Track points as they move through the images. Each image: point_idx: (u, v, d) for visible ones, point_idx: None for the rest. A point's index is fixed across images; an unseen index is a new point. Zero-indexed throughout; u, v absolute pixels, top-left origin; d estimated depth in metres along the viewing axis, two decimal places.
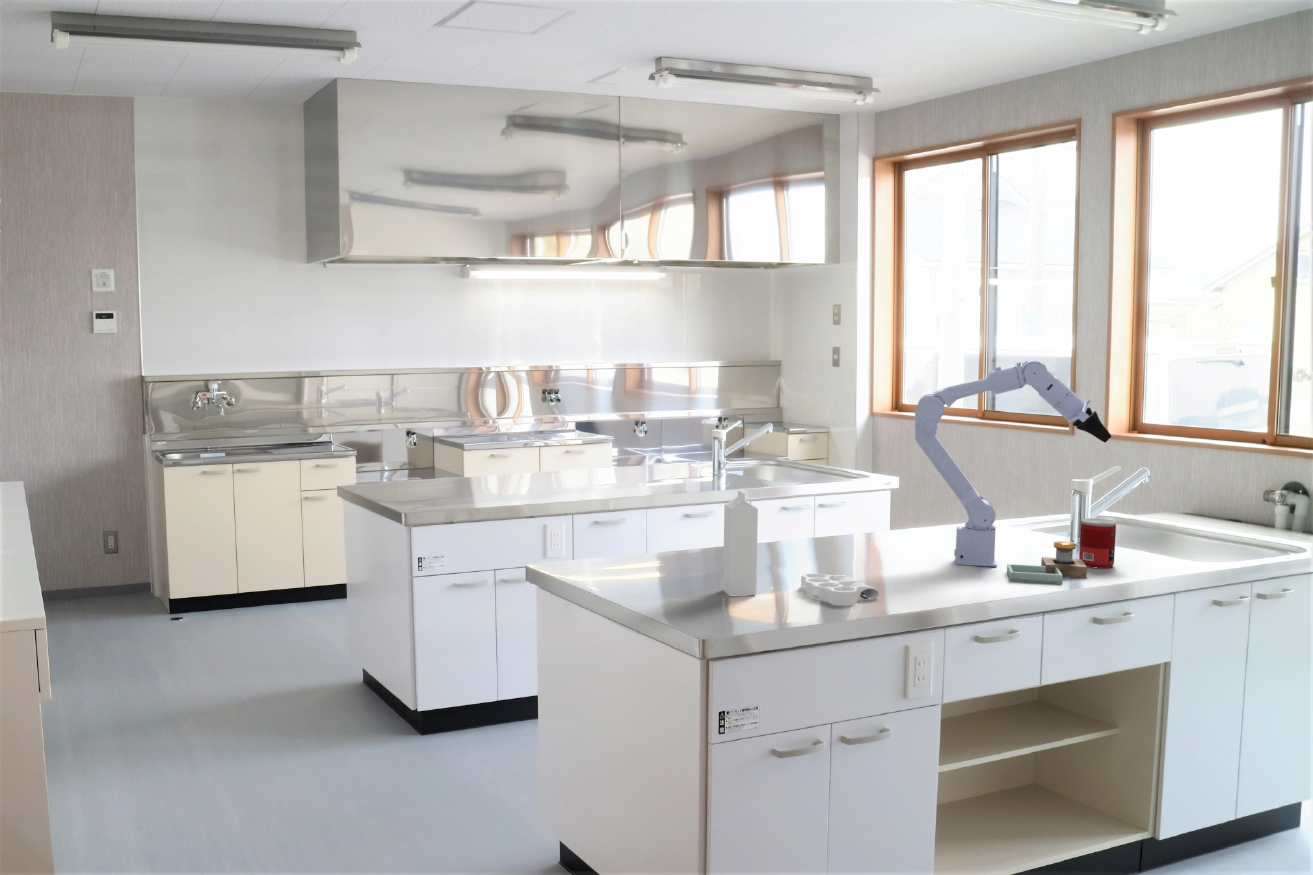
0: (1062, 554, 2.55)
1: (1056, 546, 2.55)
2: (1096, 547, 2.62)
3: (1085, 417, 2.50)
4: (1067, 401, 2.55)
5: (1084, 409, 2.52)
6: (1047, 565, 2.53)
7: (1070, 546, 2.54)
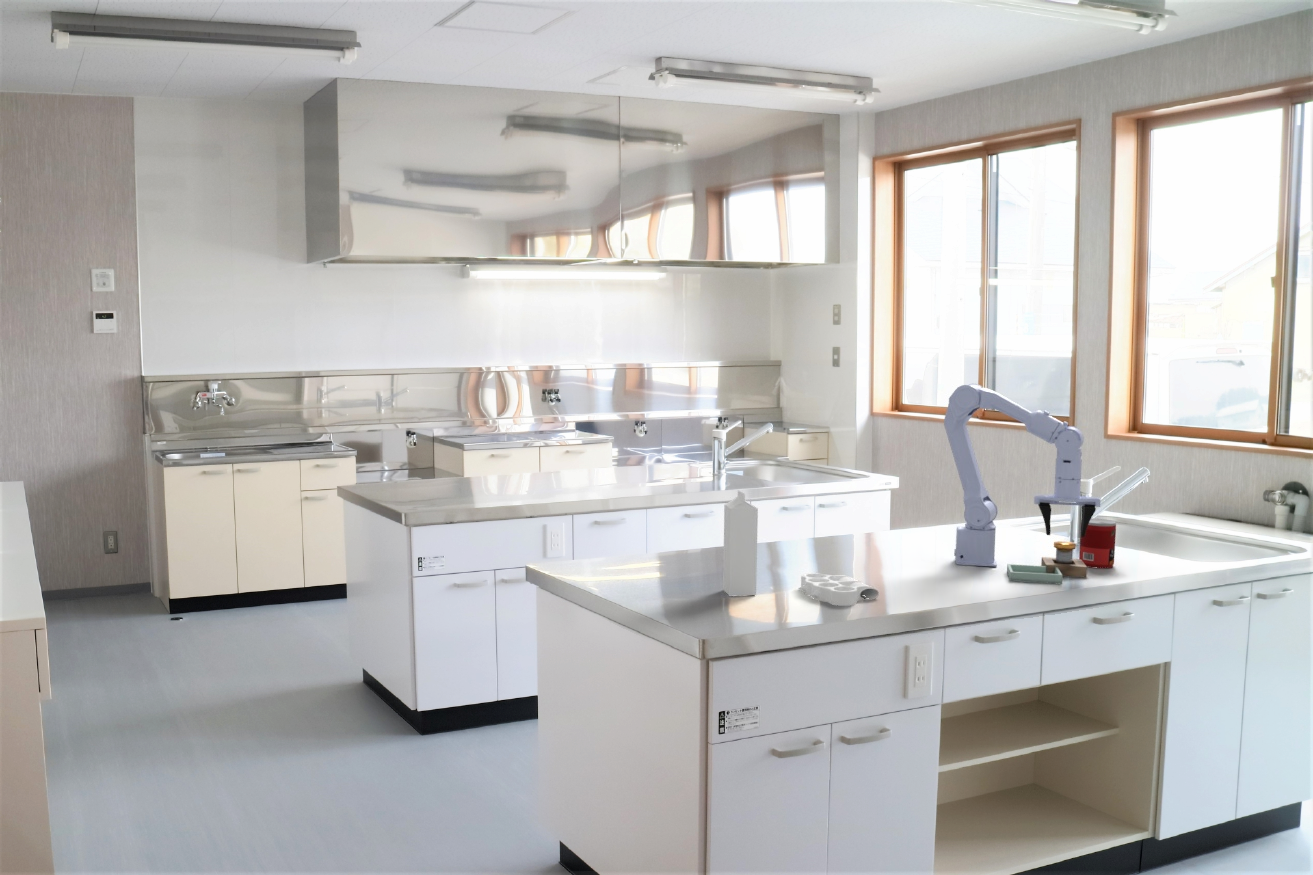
0: (1062, 554, 2.55)
1: (1056, 546, 2.55)
2: (1096, 547, 2.62)
3: (1034, 501, 2.57)
4: (1055, 482, 2.55)
5: (1045, 498, 2.55)
6: (1047, 565, 2.53)
7: (1070, 546, 2.54)
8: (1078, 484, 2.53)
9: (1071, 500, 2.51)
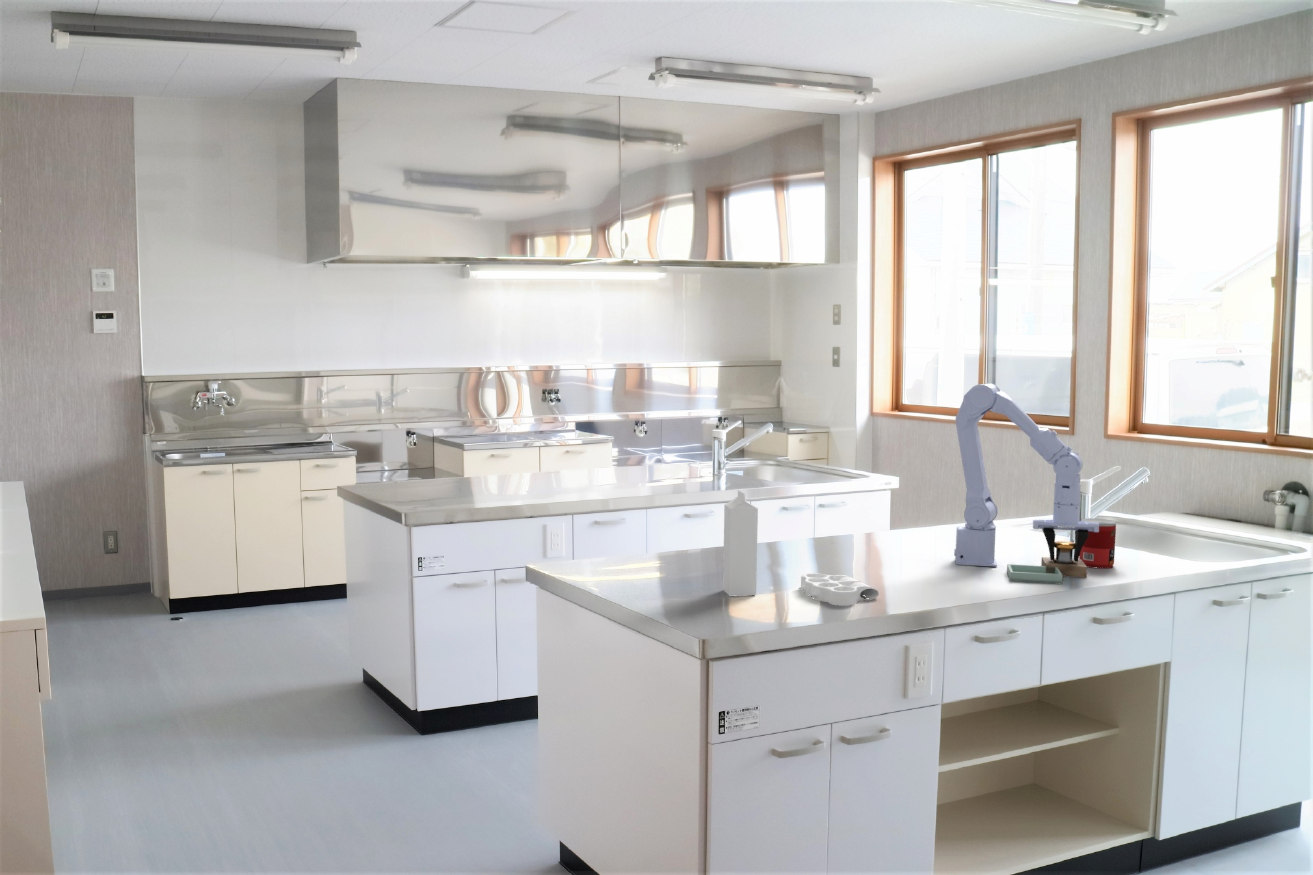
0: (1062, 554, 2.55)
1: (1056, 546, 2.55)
2: (1096, 547, 2.62)
3: (1033, 526, 2.57)
4: (1054, 507, 2.56)
5: (1044, 523, 2.55)
6: (1047, 565, 2.53)
7: (1070, 546, 2.54)
8: (1077, 509, 2.53)
9: (1070, 525, 2.52)
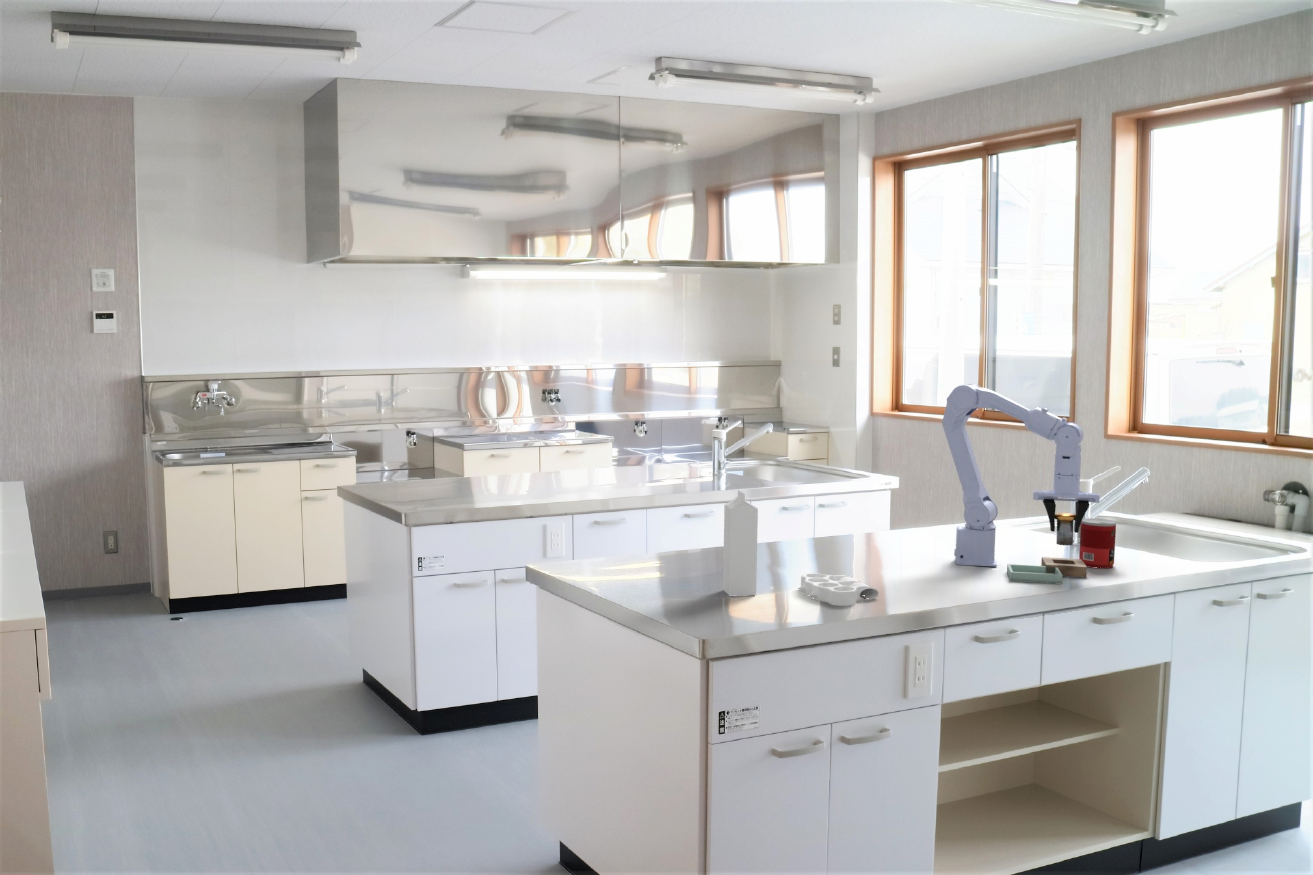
0: (1063, 526, 2.54)
1: (1056, 518, 2.55)
2: (1096, 547, 2.62)
3: (1033, 497, 2.56)
4: (1054, 478, 2.55)
5: (1044, 494, 2.55)
6: (1047, 565, 2.53)
7: (1070, 517, 2.53)
8: (1077, 480, 2.52)
9: (1070, 496, 2.51)
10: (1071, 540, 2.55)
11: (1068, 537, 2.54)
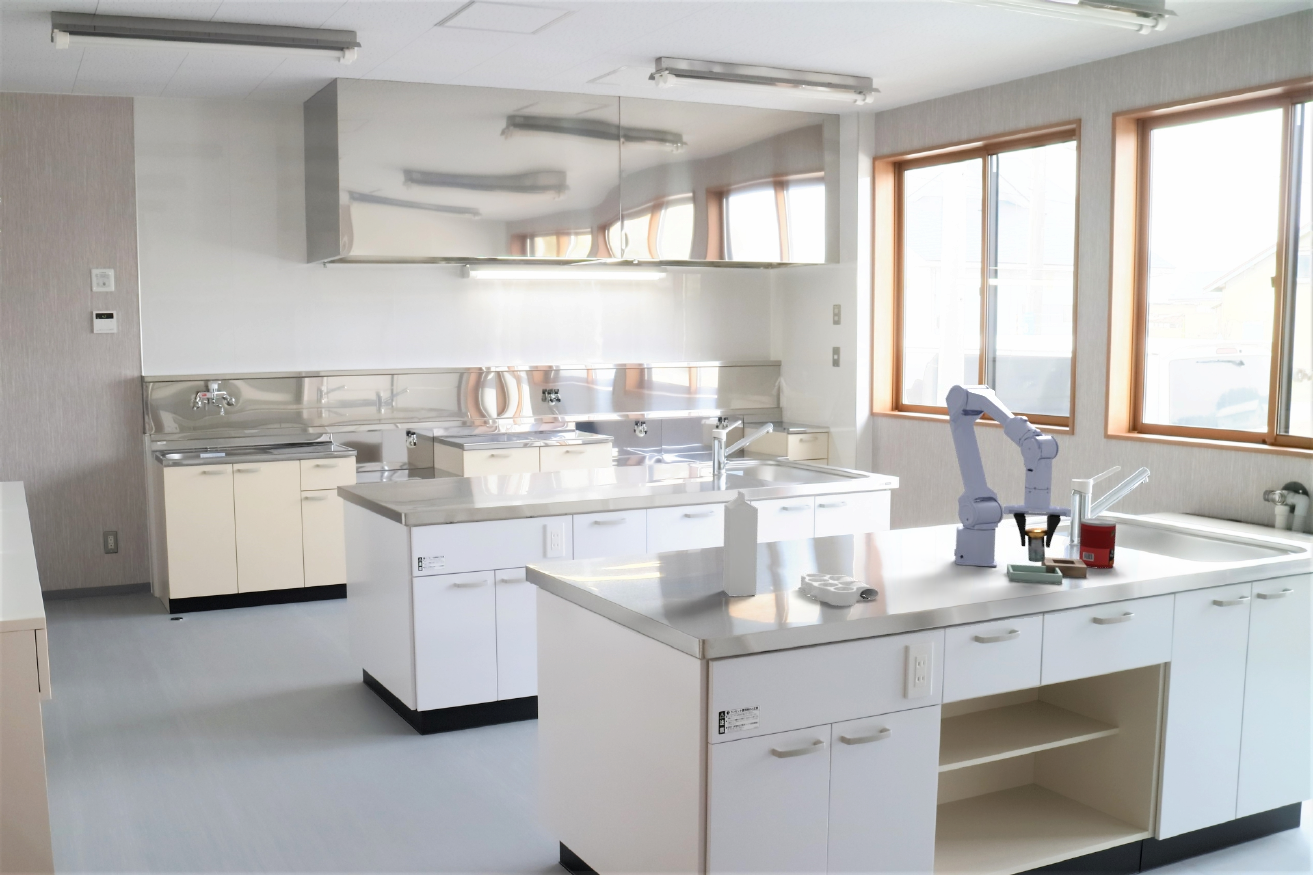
0: (1033, 542, 2.48)
1: (1026, 534, 2.49)
2: (1096, 547, 2.62)
3: (1003, 511, 2.50)
4: (1025, 491, 2.49)
5: (1015, 508, 2.49)
6: (1047, 565, 2.53)
7: (1040, 533, 2.47)
8: (1048, 494, 2.46)
9: (1041, 510, 2.45)
10: (1043, 556, 2.49)
11: (1039, 553, 2.48)
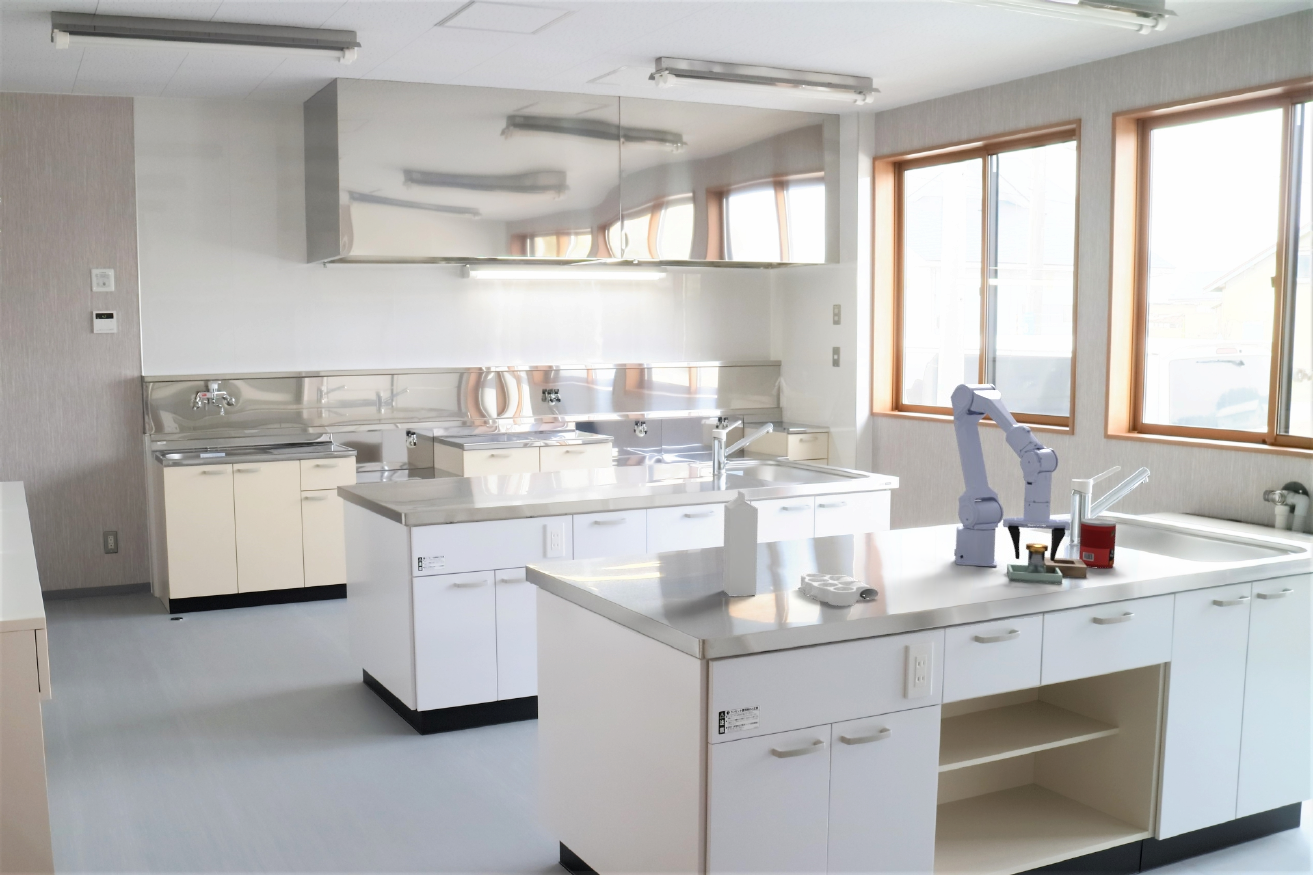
0: (1033, 557, 2.49)
1: (1027, 548, 2.50)
2: (1096, 547, 2.62)
3: (1003, 524, 2.51)
4: (1024, 504, 2.49)
5: (1014, 521, 2.49)
6: (1047, 565, 2.53)
7: (1041, 548, 2.48)
8: (1047, 507, 2.47)
9: (1040, 524, 2.45)
10: (1042, 571, 2.49)
11: (1038, 568, 2.49)
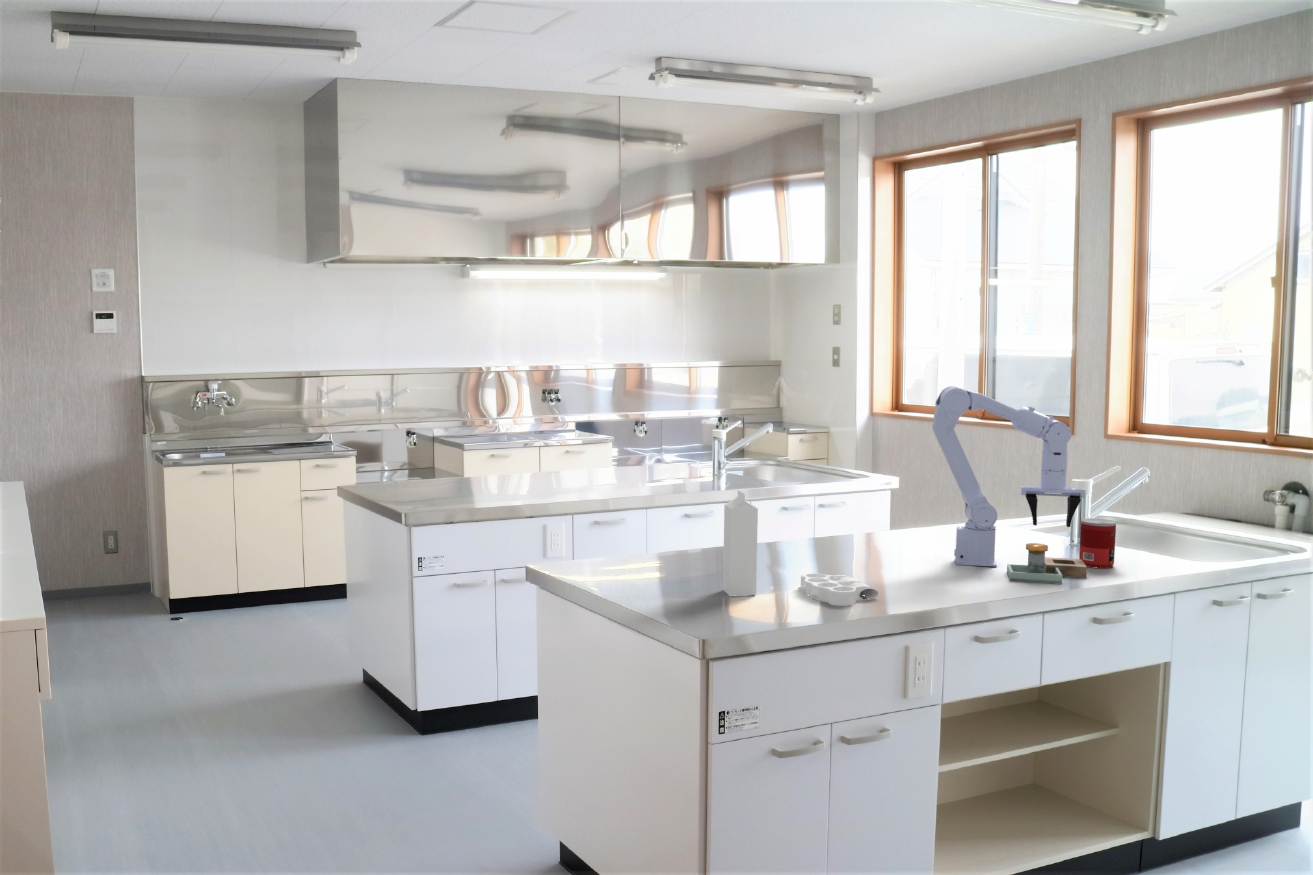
0: (1033, 557, 2.49)
1: (1027, 548, 2.50)
2: (1096, 547, 2.62)
3: (1021, 492, 2.64)
4: (1041, 473, 2.62)
5: (1032, 489, 2.62)
6: (1047, 565, 2.53)
7: (1041, 548, 2.48)
8: (1064, 476, 2.60)
9: (1057, 491, 2.58)
10: (1042, 571, 2.49)
11: (1038, 568, 2.49)
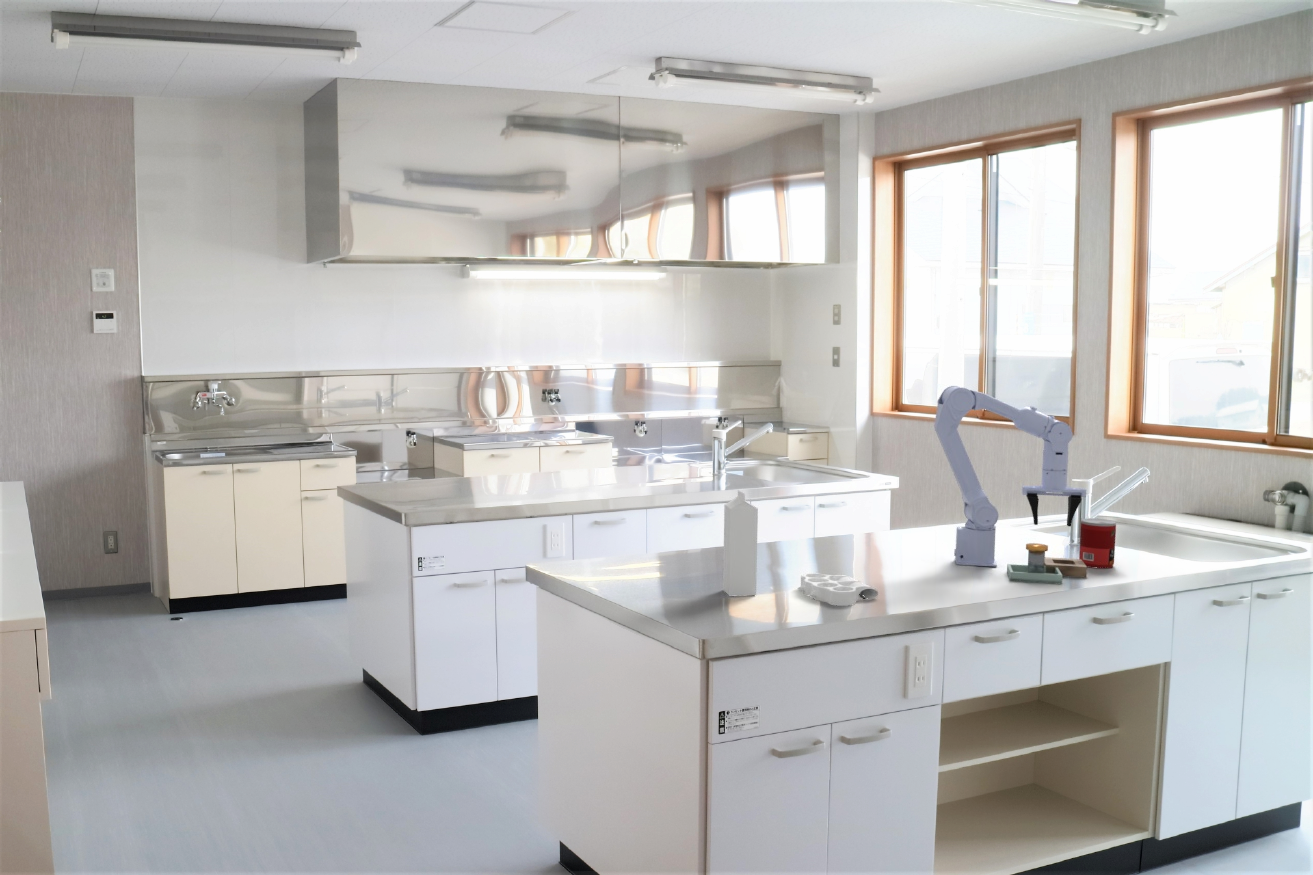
0: (1033, 556, 2.49)
1: (1027, 548, 2.50)
2: (1096, 547, 2.62)
3: (1022, 492, 2.65)
4: (1042, 473, 2.63)
5: (1033, 488, 2.63)
6: (1047, 565, 2.53)
7: (1041, 548, 2.48)
8: (1065, 475, 2.61)
9: (1058, 491, 2.59)
10: (1042, 571, 2.49)
11: (1038, 568, 2.49)
